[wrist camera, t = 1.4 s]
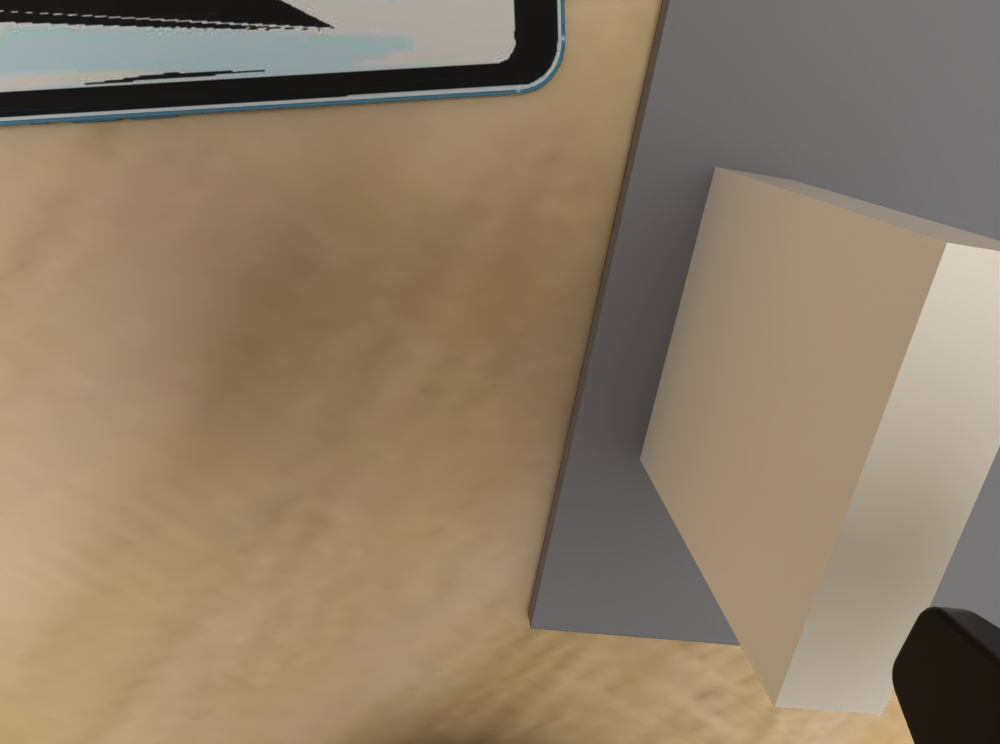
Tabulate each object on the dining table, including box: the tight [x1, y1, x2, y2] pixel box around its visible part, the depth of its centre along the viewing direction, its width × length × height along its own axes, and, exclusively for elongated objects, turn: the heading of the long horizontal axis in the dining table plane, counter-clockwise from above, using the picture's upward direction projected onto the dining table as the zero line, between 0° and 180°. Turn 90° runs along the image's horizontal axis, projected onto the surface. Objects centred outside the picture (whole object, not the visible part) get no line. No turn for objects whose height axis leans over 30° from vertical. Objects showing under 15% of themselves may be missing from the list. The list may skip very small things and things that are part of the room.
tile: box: [640, 167, 1000, 715], centre depth 16 cm, size 8×2×9 cm, turn 171°
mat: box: [529, 0, 1000, 645], centre depth 21 cm, size 20×18×1 cm
